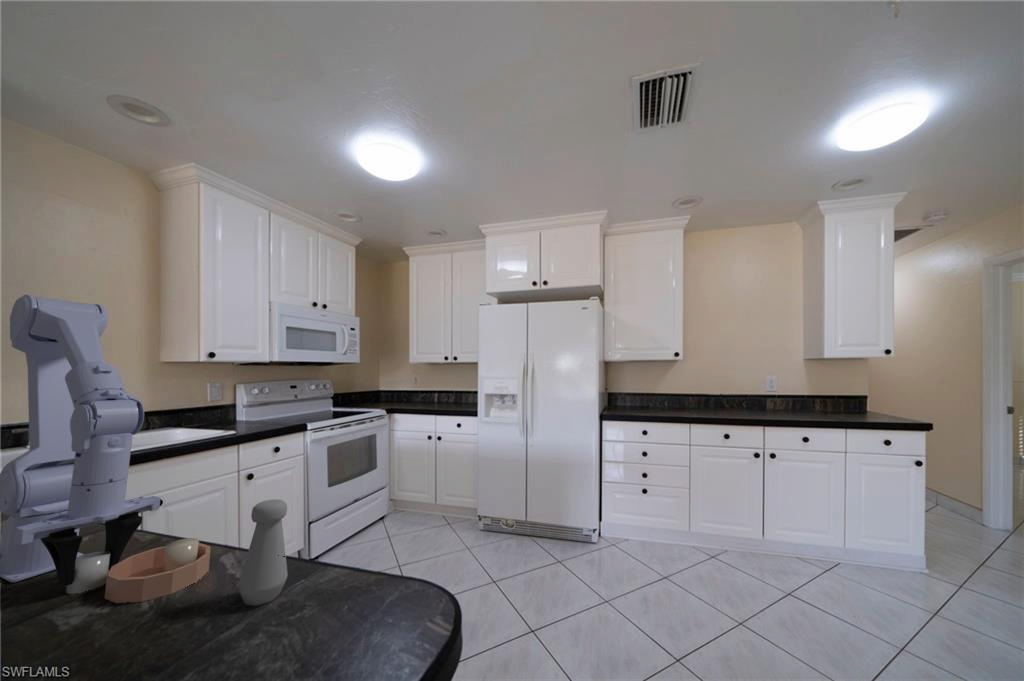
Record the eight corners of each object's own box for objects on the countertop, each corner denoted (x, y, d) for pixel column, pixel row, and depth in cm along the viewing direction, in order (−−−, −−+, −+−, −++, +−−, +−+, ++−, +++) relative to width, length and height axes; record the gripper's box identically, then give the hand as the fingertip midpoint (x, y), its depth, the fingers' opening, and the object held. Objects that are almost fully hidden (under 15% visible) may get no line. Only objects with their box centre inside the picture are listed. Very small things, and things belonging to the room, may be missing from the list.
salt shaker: (261, 613, 49) (269, 510, 50) (225, 606, 50) (234, 507, 51) (295, 588, 55) (302, 497, 56) (262, 583, 56) (270, 494, 57)
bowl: (89, 591, 53) (91, 569, 53) (181, 556, 63) (183, 538, 64) (133, 610, 49) (136, 586, 49) (224, 570, 59) (226, 550, 60)
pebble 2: (156, 573, 57) (159, 546, 58) (186, 561, 61) (189, 536, 61) (171, 579, 56) (174, 551, 56) (202, 566, 59) (204, 540, 60)
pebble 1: (59, 590, 53) (63, 560, 53) (98, 576, 57) (102, 549, 57) (73, 596, 52) (77, 566, 52) (112, 582, 55) (116, 554, 56)
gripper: (38, 498, 48) (22, 610, 46) (174, 472, 61) (165, 558, 60) (13, 491, 50) (-3, 597, 49) (149, 467, 64) (140, 550, 62)
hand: (88, 575), depth 54 cm, fingers closed on pebble 1, 4 cm apart
